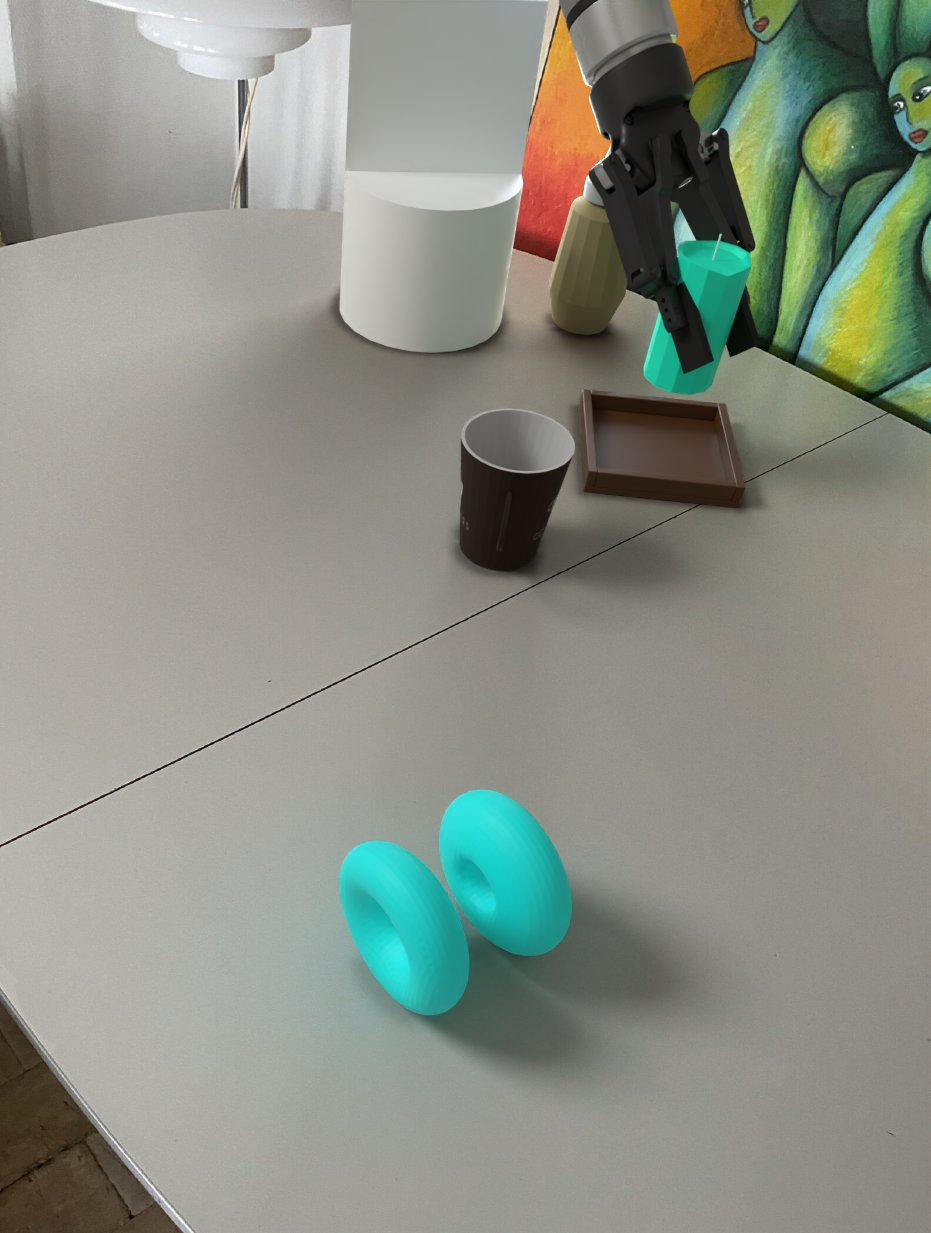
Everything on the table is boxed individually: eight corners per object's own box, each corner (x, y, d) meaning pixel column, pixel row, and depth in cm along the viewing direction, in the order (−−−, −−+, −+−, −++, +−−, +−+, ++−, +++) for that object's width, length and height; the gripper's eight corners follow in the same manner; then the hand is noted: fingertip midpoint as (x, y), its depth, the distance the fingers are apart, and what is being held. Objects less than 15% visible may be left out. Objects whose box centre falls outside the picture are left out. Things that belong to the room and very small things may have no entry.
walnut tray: (719, 422, 102) (725, 403, 100) (738, 507, 93) (746, 487, 91) (577, 408, 102) (582, 388, 100) (583, 491, 93) (588, 471, 92)
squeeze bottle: (632, 330, 113) (680, 146, 99) (576, 348, 110) (617, 161, 96) (582, 297, 117) (621, 117, 103) (526, 314, 114) (559, 130, 100)
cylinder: (332, 272, 117) (342, -35, 96) (485, 273, 119) (528, -28, 98) (347, 352, 106) (362, 25, 85) (515, 352, 108) (571, 32, 87)
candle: (636, 384, 90) (676, 240, 81) (649, 352, 94) (689, 211, 85) (706, 401, 89) (754, 257, 80) (717, 368, 93) (764, 227, 84)
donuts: (562, 971, 62) (600, 874, 54) (421, 1056, 58) (442, 964, 50) (461, 851, 67) (483, 747, 59) (326, 920, 63) (331, 819, 56)
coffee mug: (480, 501, 91) (498, 395, 84) (568, 541, 88) (594, 435, 81) (405, 568, 85) (416, 460, 77) (497, 614, 82) (518, 507, 74)
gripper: (679, 77, 90) (759, 348, 94) (518, 109, 83) (613, 401, 87) (746, 23, 83) (830, 316, 87) (578, 52, 76) (678, 371, 80)
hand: (722, 358), depth 87 cm, fingers closed on candle, 5 cm apart
